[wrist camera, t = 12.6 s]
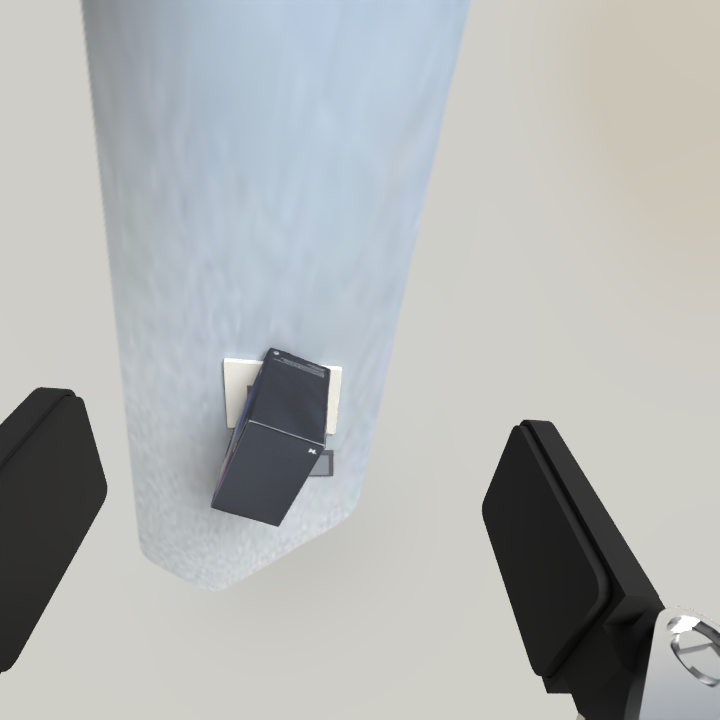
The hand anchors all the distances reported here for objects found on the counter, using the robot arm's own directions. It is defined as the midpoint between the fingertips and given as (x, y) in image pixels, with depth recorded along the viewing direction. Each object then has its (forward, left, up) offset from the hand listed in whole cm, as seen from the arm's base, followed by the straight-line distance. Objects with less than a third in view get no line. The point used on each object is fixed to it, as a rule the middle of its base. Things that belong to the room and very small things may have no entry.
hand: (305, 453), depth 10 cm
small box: (+20, -3, -28) cm, 34 cm away
